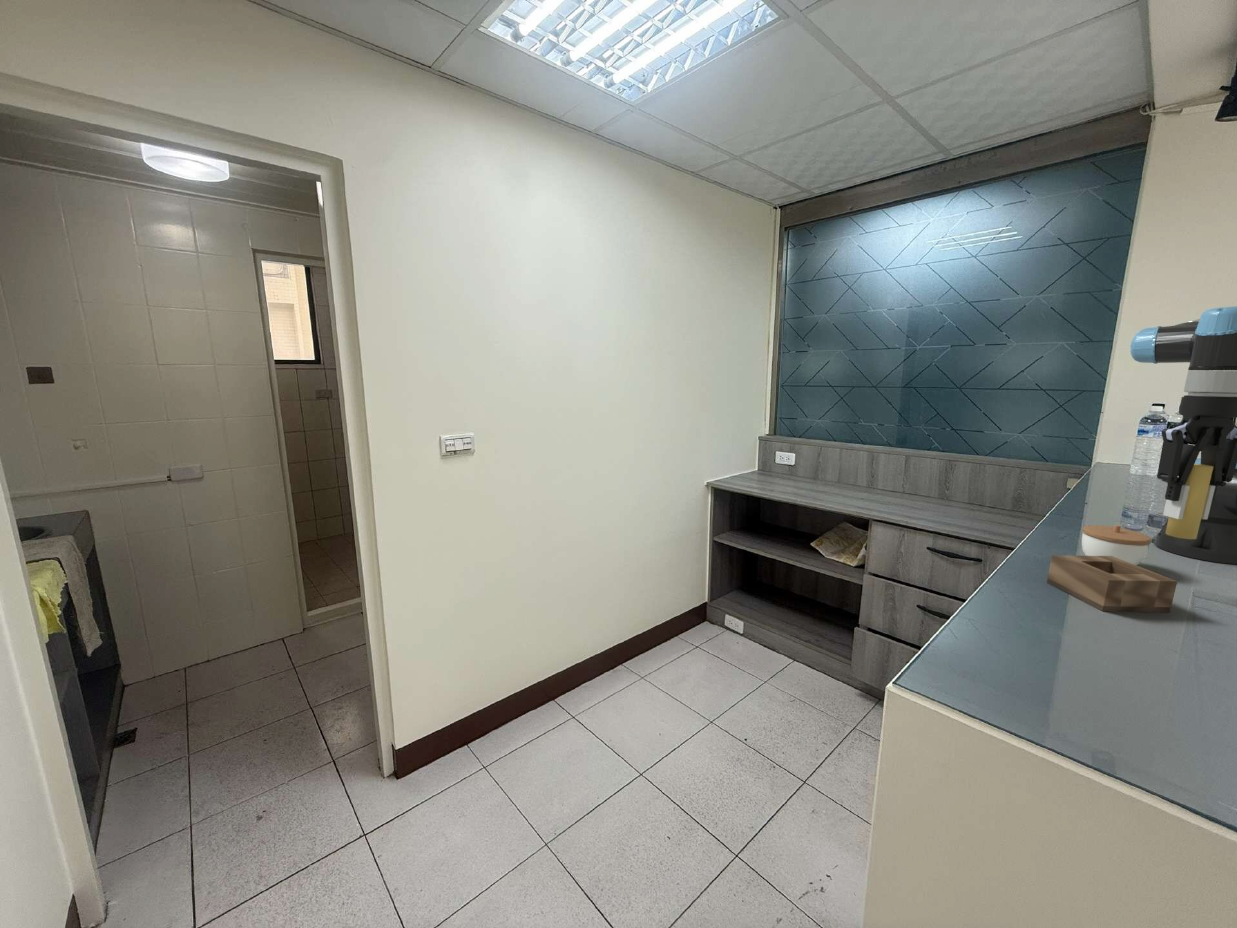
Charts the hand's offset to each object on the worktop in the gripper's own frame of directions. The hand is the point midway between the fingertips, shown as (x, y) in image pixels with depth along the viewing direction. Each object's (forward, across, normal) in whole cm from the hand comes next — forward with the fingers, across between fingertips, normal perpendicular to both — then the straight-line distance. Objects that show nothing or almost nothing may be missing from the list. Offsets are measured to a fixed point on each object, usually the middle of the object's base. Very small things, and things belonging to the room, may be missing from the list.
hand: (1184, 516), depth 94 cm
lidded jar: (+16, -1, -13) cm, 20 cm away
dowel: (+4, 0, 0) cm, 4 cm away
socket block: (+15, +15, +3) cm, 22 cm away
